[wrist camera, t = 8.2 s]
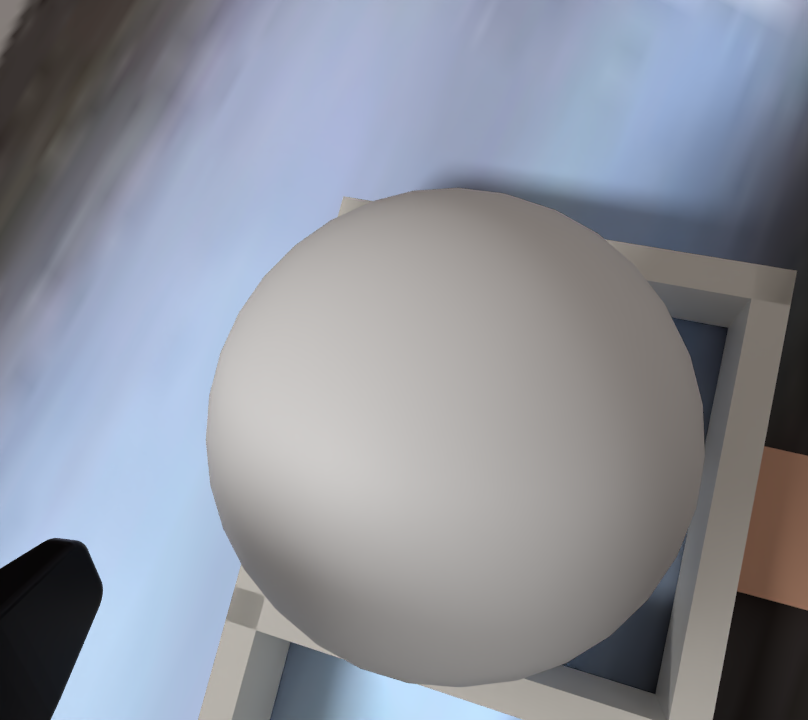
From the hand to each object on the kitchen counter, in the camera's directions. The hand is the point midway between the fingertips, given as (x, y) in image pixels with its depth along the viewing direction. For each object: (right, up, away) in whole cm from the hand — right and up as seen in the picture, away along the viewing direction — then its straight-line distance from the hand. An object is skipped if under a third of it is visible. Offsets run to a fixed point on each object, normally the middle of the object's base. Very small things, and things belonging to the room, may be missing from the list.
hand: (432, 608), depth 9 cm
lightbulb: (+2, 0, +9) cm, 9 cm away
